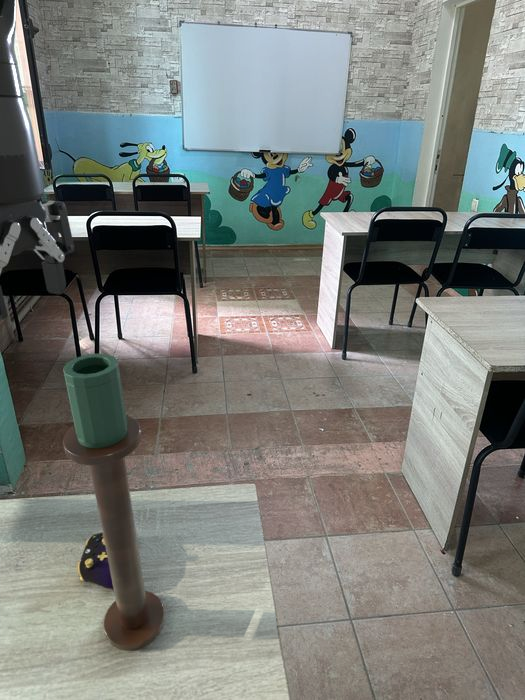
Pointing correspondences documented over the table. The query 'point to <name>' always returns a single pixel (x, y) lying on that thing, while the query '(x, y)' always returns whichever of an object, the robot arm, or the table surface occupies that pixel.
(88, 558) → the gaming controller
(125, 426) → the jar
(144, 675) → the table surface
